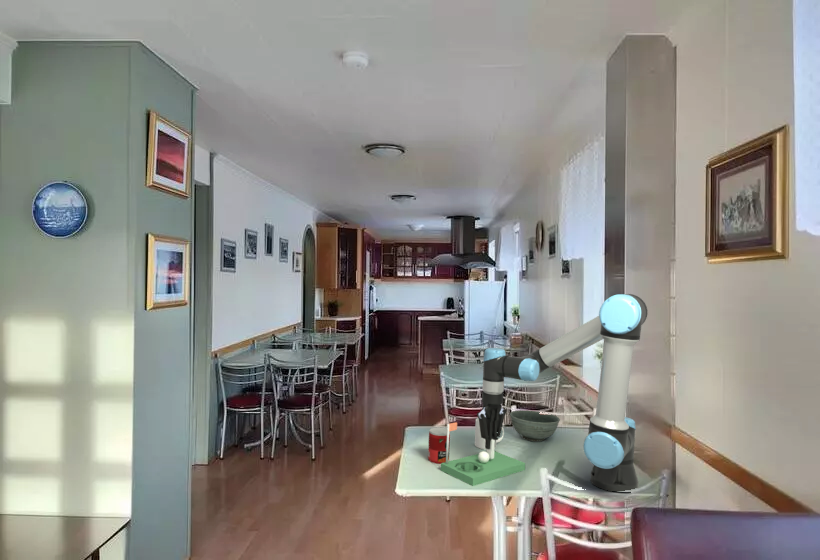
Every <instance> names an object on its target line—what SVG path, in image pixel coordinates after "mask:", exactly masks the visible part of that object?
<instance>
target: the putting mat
mask: <svg viewBox="0 0 820 560" xmlns="http://www.w3.org/2000/svg"><path fill="white" fill-rule="evenodd" d="M446 429H447V448H446V462H444V463H441V464H440V471H441V472H442V473H445V474H448V475H449V476H450V477H451V476H452V477H453V478H455V479H458V480H460V481H461V482H464V483H466V484H468V485H470V486H472V487H475V486H478V485H480V484H481V485H482V484H483V483H487V482H490V481H493V480H498V479H501V478H503V476H504V477H507V476H510V475H514V474H516V473H520V472H523V470H524V471H526V463H525V462H523V461H521V460H519V459H516V458H513V457H510V456H508V455H505V454H503V453H501V452H499V451H495V450H494V458H493V459H490V458H489V461H488V462H487V463H481V462H480V461H479V459H478V455H479V453H477V454H476V453H475V454H472V455H468V456H464V457H460V458H456V459H452V460H449V461H448V448H449V431H450V432H452V431H453V432H454V431H456V430H458V422H452V423H451V422H450V423H447V426H446ZM513 473H514V474H513ZM500 477H501V478H500Z"/></svg>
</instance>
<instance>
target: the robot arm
mask: <svg viewBox="0 0 820 560" xmlns="http://www.w3.org/2000/svg"><path fill="white" fill-rule="evenodd" d="M648 313H649V312H648V306H647V305H646V302H645V301H644V300H643V299H642V298H641V297H639V296H638V295H635V294H631V293H623V294H622V293H621V294H620V293H619V294H618V293H617V294H615V295H612V296H610V297H608V298H607V299H606V300H604V301H603V303H601V306H600V307H599V312H598V316H596V317H594V318H592V319H591V320H589V321H586V322H585V323H583V324H581V325H579V326H578V327H576V328H574V329H572V330H570V331H568V332H567V333H565V334H562V336H560V337H558V338H557V339H554V340H553V341H551V342H549V343H547V344H546V345H544V346H542V347H540V348H538V349H536V350H535V351H533V352H531V353H529V354H526V355H523V356H520V357H519V356H518V357H517V356H509V355H506V351H505V349H504V348H497V347H488V348H486V349H485V350H484V351H483V352H484V355H483V360H482V362H483V366H482V367H483V368H482V369H483V370H482V371H483V373H482V392H481V402H482V407H481V411H480V412H477V413H476V416H477V418H479V425H480V432H481V438H484V439H485V448H486V450H485V452H487V453H488V454H489V458H490V459H493V458H494V451H495V449H496V447H495V445H496V446H497V443H496V440H498V439H499V438H501V434H502V427H503V424H504V419H505V416H506V413H507V409H504V408H503V406H502V405H503V403H504V390H505V388H504V387H505V385H504V384H505V378H506V379H507V378H508V379H514V380H521V381H524V382H527V381H528V382H535V381H537V379H538V378H539V375H540V374H541V373H543V372H544V371H546V370H548V369H549V368H551V367H553V366H555V365H556V364H558V363H561V362H562V361H565V360H566V359H569V358H570V357H571V356H574V355H576V354H579V353H580V352H582V351H583V350H585V349H587V348H589V347H591V346H593V345H594V344H597V343H599V342H600V341H602V340H603V341H604V343H603V350H602V360H601V367H600V375H599V377H600V378H599V385H598V391H597V401H596V410H595V415H593V416H591V417H590V418H589V424H588V425H589V426H588V434H587V436H586V437H585V439H584V442H583V452H584V455H585V457H586V458H587V460H588V461H589V463H591V464H593V467H592V470H591V471H590V483H591V484H592V485H593V486H595V487H597V488H599V489H602V490H603V491H604V490H605V491H607V490H608V492H612V491H625V490H631V489H635V488H638V489H639V479H638V476H637V475H638V474H637V471H636V468H635V463H634V462H635V460H634V459H635V458H634V457H635V440H636V430H637V429H636V421H635V420H634V419H632V418H630V417H627V416H626V410H627V403H628V393H629V388H630V387H629V385H630V378H631V370H632V369H631V368H632V360H633V354H634V345H635V344H637V343H638V342H640V339H641V332H642V326H643V325H644V323H645V322H646V320H647V319H648V315H649V314H648ZM495 443H496V444H495Z"/></svg>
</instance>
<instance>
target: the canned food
mask: <svg viewBox="0 0 820 560" xmlns="http://www.w3.org/2000/svg"><path fill="white" fill-rule="evenodd" d="M450 438H451V431H449V448H448V461H450V445H451V444H450V443H451V439H450ZM446 448H447V428H444V427H431V428H430V429H429V431H428V451H427V452H428V453H427V455H428V456H427V458H428V461H429V462H430V463H432V464H437V465H441V463H444V462H446Z"/></svg>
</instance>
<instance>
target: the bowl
mask: <svg viewBox="0 0 820 560" xmlns="http://www.w3.org/2000/svg"><path fill="white" fill-rule="evenodd" d="M540 412H542V413H543V412H544V411H538V410H537V411H535V410H526V409H525V410H524V409H522V410H519V409H518V410H513V411H511V412H510V413H509V416H510V418H511V424H512V426H513V428H514V431H516V432H517V434H519V435H521V437H522V438H523V439H524V440H527V441H531V442H543V441H545V439H546V438H549V437H551V436H552V435H554V433H555V432H556V430H557V428H558V426H559V422H560V420H561V419H560V418H559V417H558V416H556V415H554V414H551V413H550V414H551V415H540V414H539V413H540Z"/></svg>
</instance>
